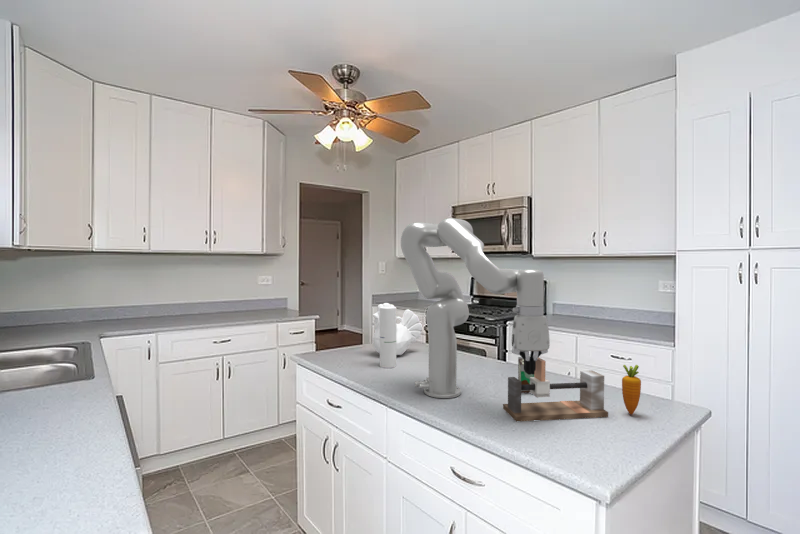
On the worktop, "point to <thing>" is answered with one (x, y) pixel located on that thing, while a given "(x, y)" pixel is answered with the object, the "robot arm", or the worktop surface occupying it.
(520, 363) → the food container
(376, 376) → the worktop surface
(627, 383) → the carrot
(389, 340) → the cylindrical container
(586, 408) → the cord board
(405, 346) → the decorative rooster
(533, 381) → the sleeve
